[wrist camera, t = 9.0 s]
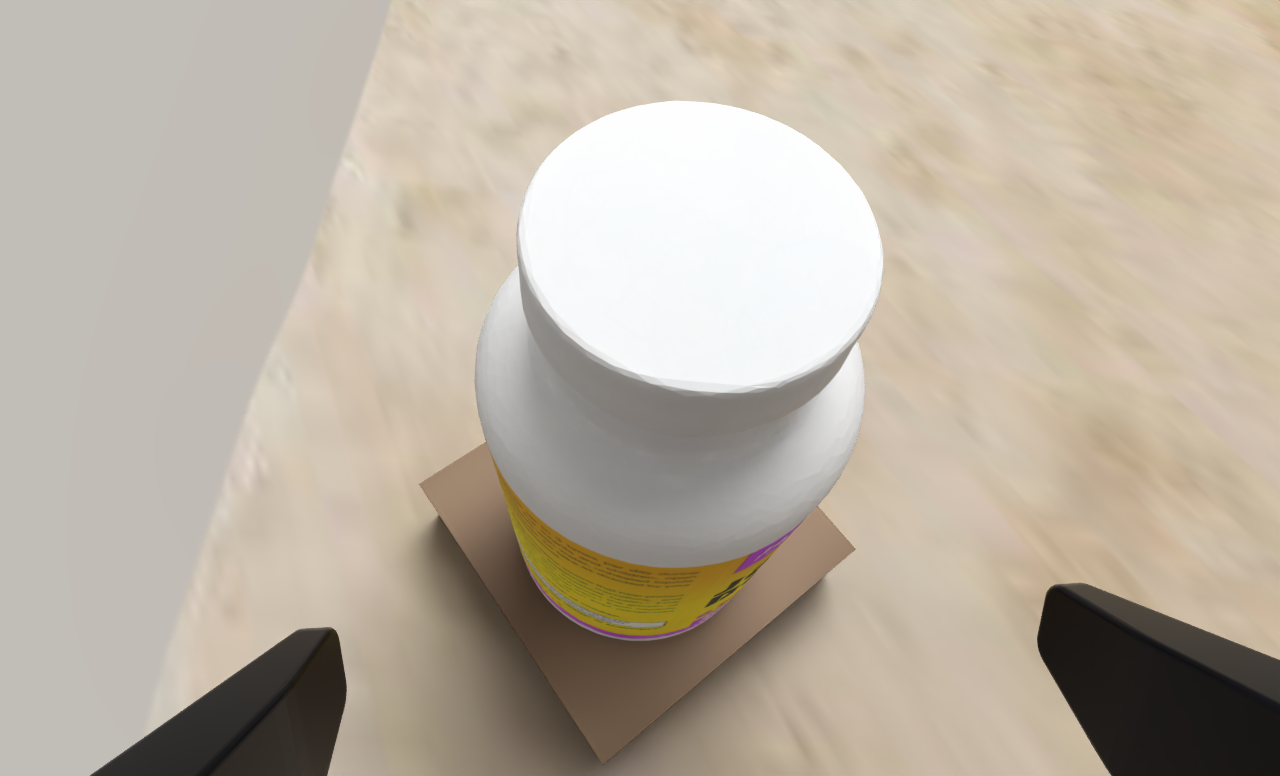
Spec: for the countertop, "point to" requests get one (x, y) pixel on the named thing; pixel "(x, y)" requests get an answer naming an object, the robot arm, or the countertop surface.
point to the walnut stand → (603, 666)
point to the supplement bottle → (675, 359)
